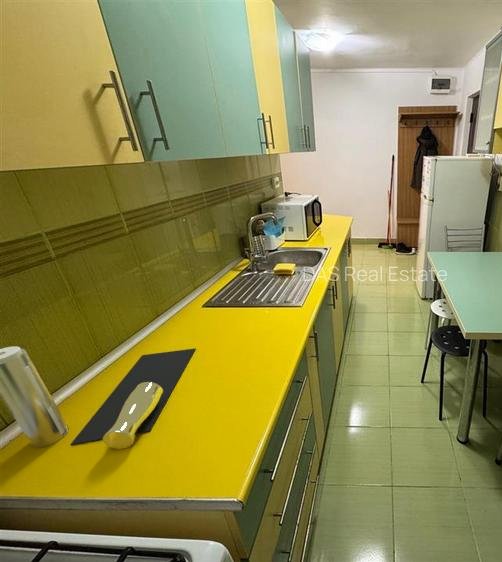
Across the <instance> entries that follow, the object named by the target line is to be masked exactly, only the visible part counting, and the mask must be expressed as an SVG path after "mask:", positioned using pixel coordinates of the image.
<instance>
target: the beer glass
mask: <svg viewBox="0 0 502 562" xmlns="http://www.w3.org/2000/svg"><path fill="white" fill-rule="evenodd" d="M162 394H163V389H162V388H161V387H160V386H159V385H158V384H156V383H152V382H143V383H140V384H139V385H138V386H137V387H136V388H135V389H134V391H133V392H132V393H131V394H130V395H129V397H128V398H127V400H126V401H125V403H124V405H123V407H122V409H121V411H120V413H119V416H118V418H117V420H116V422H115V424H114V425H113V426H112V427H111V428H110V430H109V431H108V432H107V433H106V434H105V435H104V436H103V440H102V443H104V445H105V446H107V447H109V448H111V449H118V450H122V449H127V448H129V447H131V446H132V445H133V444H134V442H135V439H136V437H137V435H138V434H137V432H138V430H139V428H140V427H141V426H142V425H143V423H144V422H145V421H146V420H147V419H148V418H149V416H150V415H151V414H152V412H153V411H154V410H155V408H156V406H157V404H158V402H159V400H160V398H161V396H162Z"/></svg>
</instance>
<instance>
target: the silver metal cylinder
mask: <svg viewBox="0 0 502 562" xmlns="http://www.w3.org/2000/svg"><path fill="white" fill-rule="evenodd" d="M0 398H1V400H2V401H3V403H4V405H5V406H6V407H7V408H8V409H7V410H9V412H10V413H11V415H12V416H13V418H14V419H15V421H16V423H17V424H18V426H19V428H20V429H21V431H22V432H23V434H24V435H25V437H26V438H27V440H28V442H29V443H30V444H31V446H32V447H33V448H35V449H42V448H46V447H48V446H51V445H53V444H55V443H57V442H59V441H60V440H61V439H63V438H64V437H65V436H66V435H67V434H68V433H69V430H70V427H69V426H68V424H67V421H66V420H65V418H64V416H63V414H62V413H61V411H60V409H59V407H58V405H57V404H56V402H55V400H54V398H53V396H52V395H51V393H50V391H49V390H48V387H47V385H46V384H45V382H44V380H43V379H42V377H41V375H40V373H39V371H38V370H37V368H36V366H35V364H34V362H33V360H32V359H31V357H30V355H29V353H28V352H27V350H26V349H25V348H23V347H20V346H7V347H3V348H0Z"/></svg>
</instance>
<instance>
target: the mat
mask: <svg viewBox="0 0 502 562" xmlns="http://www.w3.org/2000/svg"><path fill="white" fill-rule="evenodd" d="M196 350H197V348H196V347H195V348H188V349H180V350H171V351H164V352H156V353H155V352H154V353H148V354H142V355H141V356H140V357H139V359H137V361H136V362H135V363H134V365H132V367H131V368H130V370H129V371H128V372H127V373H126V375H125V376H124V377H123V378H122V379H121V381H120V382H119V383H118V384H117V386H116V387H115V388H114V389H113V391H111V393H110V394H109V395H108V397H107V398H106V399H105V400H104V402H103V403H102V404H101V406H100V407H99V408H98V409H97V411H96V412H95V413H94V414H93V415H92V416H91V418H90V419H89V420H88V422H87V423H86V424H85V425H84V426H83V428H82V429H81V430H80V431H79V433H78V434H77V435H76V436H75V438H74V439H73V440H72V441H71V442H70V446H75V445H80V444H86V443H93V442H98V441H103V436H104V435H105V434H106V433H107V432H108V431H109V430H110V428H111V427H112V426H113V425H114V424H115V422H116V420H117V418H118V416H119V413H120V411H121V409H122V407H123V405H124V403H125V401H126V400H127V398H128V397H129V395H130V394H131V393H132V392H133V391H134V389H135V388H136V387H137V386H138V385H139V384H140V383H143V382H152V383H156V384H158V385H159V386H160V387H161V388H162V389H163V394H162V396H161V398H160V400H159V402H158V404H157V406H156V408H155V410H154V411H153V412H152V414H151V415H150V416H149V418H148V419H147V420H146V421H145V422H144V423H143V425H142V426H141V427H140V428H139V430H138V432H137V434H136V435H139V434H144V433H151V431H152V429H153V428H154V426H155V424H156V422H157V421H158V418H159V417H160V415H161V413H162V411H163V409H164V408H165V406H166V404H167V402H168V401H169V399H170V397H171V395H172V393H173V391H174V389H175V388H176V386H177V384H178V382H179V380H180V379H181V377H182V376H183V373H184V372H185V369H186V368H187V366H188V365H189V363H190V361H191V359H192V357H193V355H194V353H195V352H196Z"/></svg>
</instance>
